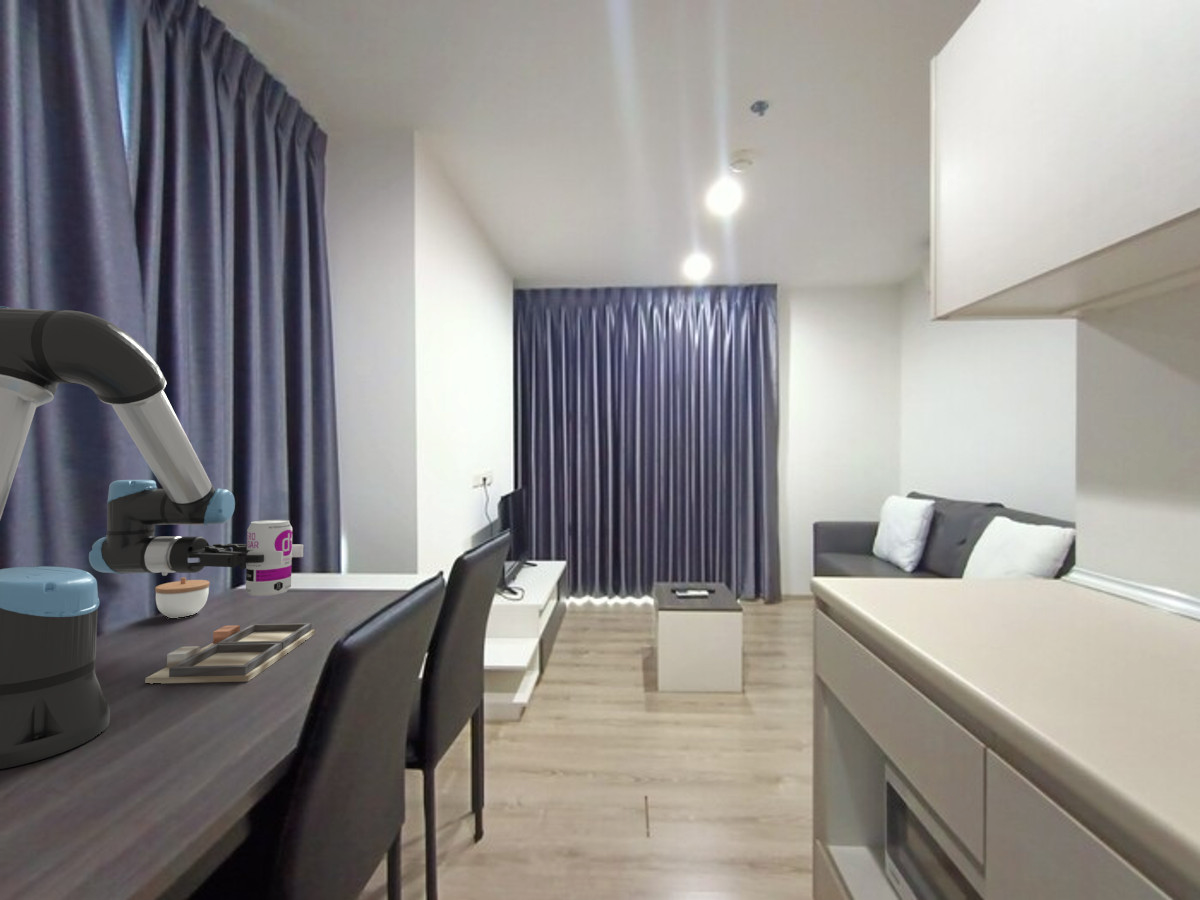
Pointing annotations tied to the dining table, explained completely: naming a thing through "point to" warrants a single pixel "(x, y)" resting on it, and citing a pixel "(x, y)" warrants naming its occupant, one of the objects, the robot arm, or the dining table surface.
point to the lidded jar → (181, 597)
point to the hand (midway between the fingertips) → (292, 554)
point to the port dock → (233, 654)
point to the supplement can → (269, 539)
